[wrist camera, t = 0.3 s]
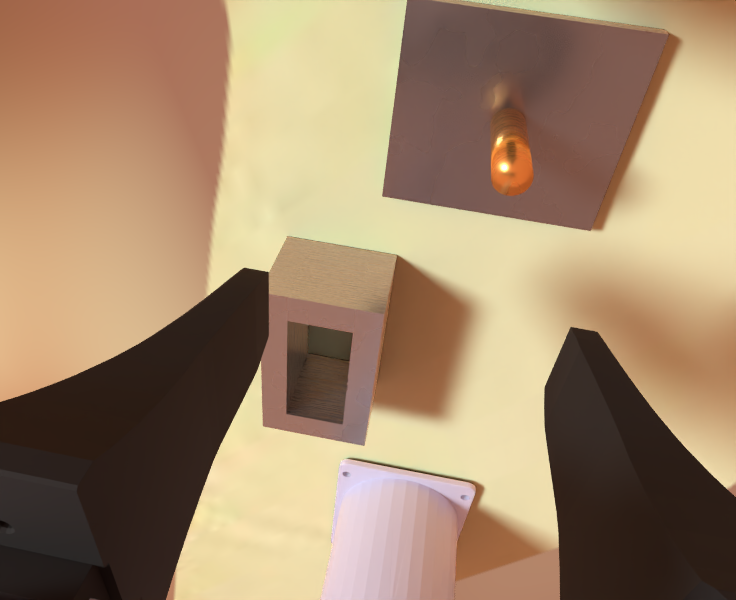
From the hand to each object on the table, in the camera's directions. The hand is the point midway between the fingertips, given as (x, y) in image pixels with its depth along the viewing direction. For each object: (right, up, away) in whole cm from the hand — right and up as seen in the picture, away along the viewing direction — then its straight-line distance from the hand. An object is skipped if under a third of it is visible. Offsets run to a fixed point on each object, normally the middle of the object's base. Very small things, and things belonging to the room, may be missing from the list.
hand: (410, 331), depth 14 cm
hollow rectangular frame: (-3, 0, +13) cm, 14 cm away
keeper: (+4, +7, +6) cm, 10 cm away
